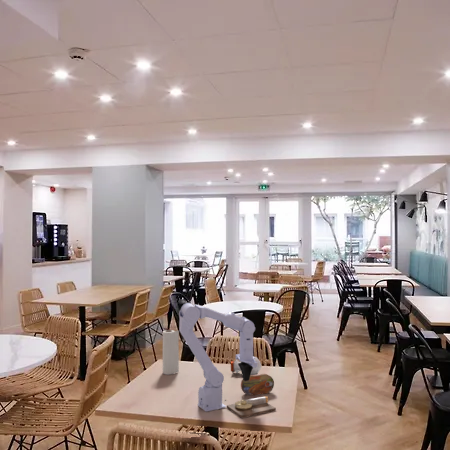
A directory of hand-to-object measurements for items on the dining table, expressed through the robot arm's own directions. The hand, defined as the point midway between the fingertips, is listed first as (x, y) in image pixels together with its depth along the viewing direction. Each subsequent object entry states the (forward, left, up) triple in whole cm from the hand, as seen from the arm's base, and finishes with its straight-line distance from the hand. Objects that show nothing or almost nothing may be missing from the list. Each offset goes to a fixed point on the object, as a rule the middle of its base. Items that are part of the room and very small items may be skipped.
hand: (246, 380), depth 198 cm
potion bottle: (+20, +33, -10) cm, 39 cm away
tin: (+10, +7, -10) cm, 16 cm away
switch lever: (-1, -6, -8) cm, 10 cm away
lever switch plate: (-2, -7, -9) cm, 12 cm away
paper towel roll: (-13, +53, -10) cm, 55 cm away
